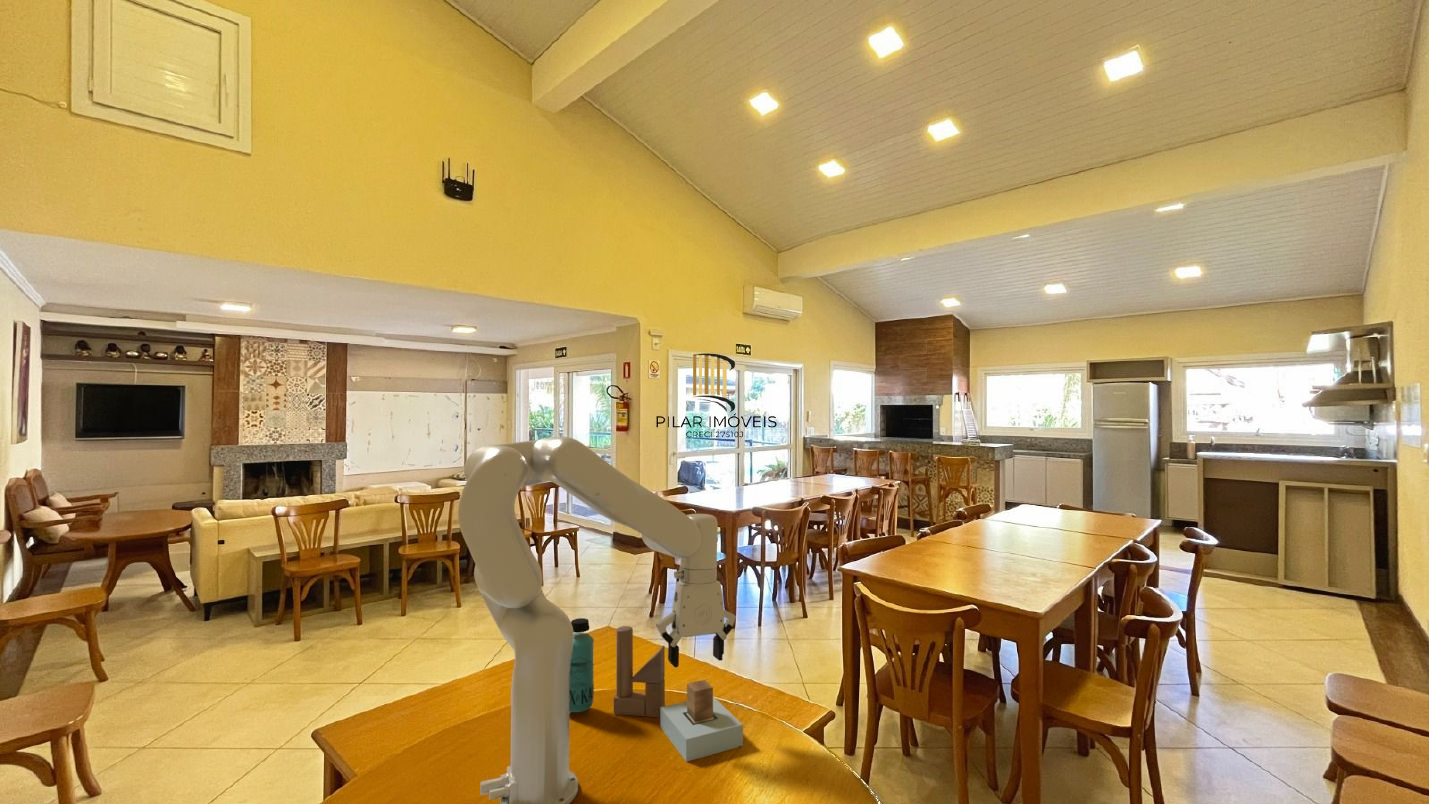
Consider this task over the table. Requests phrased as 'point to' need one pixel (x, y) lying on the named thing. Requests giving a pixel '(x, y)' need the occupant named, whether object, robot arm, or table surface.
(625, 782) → the table surface
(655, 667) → the wooden block structure
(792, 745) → the table surface
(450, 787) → the table surface
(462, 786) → the table surface
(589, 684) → the beverage bottle
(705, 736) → the grey square-hole block
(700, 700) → the peg
